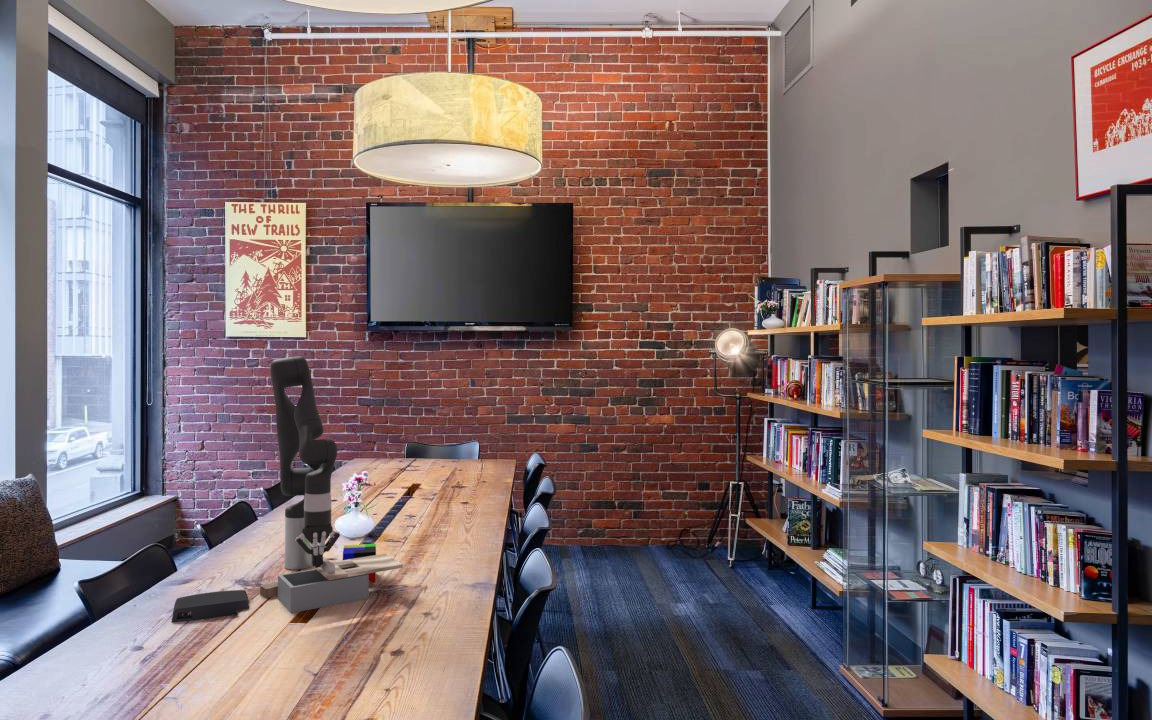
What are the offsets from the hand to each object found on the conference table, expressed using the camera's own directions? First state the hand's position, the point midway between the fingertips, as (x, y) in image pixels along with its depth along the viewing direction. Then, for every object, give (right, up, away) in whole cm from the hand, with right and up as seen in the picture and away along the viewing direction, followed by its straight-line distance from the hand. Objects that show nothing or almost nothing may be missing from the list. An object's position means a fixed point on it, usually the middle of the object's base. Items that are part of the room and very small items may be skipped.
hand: (317, 566), depth 218 cm
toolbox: (+2, -10, 0) cm, 10 cm away
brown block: (-16, -8, +1) cm, 18 cm away
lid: (+10, -2, +6) cm, 12 cm away
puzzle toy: (+6, -10, +22) cm, 25 cm away
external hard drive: (-27, -11, -8) cm, 30 cm away
